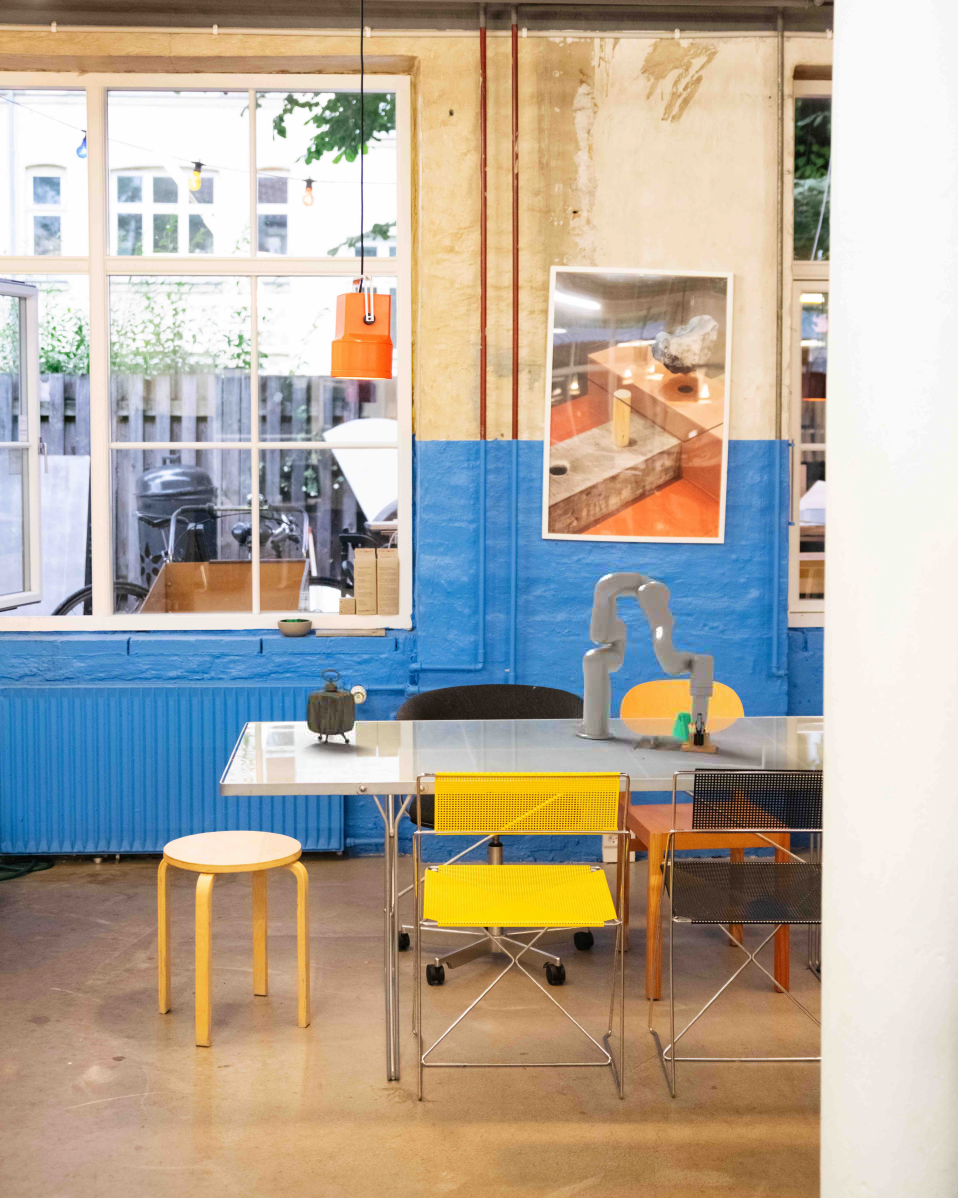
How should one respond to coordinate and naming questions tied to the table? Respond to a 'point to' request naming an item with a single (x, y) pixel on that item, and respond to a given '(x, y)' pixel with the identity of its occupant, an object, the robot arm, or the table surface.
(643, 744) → the board
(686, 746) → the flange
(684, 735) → the camera mount
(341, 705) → the tabletop clock
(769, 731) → the table surface
